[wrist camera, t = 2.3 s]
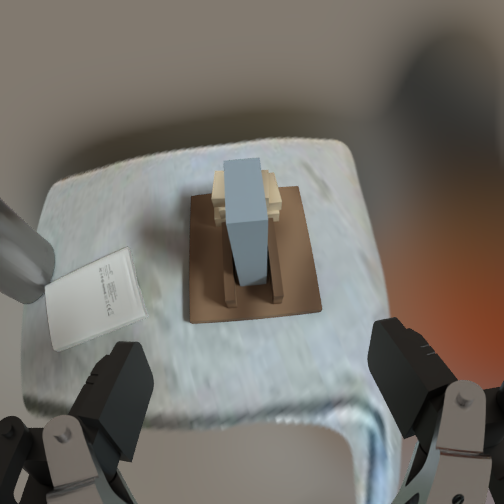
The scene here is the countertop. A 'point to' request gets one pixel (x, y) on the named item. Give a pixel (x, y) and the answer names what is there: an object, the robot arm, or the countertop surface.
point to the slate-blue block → (247, 219)
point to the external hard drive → (94, 301)
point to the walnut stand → (225, 274)
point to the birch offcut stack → (269, 189)
